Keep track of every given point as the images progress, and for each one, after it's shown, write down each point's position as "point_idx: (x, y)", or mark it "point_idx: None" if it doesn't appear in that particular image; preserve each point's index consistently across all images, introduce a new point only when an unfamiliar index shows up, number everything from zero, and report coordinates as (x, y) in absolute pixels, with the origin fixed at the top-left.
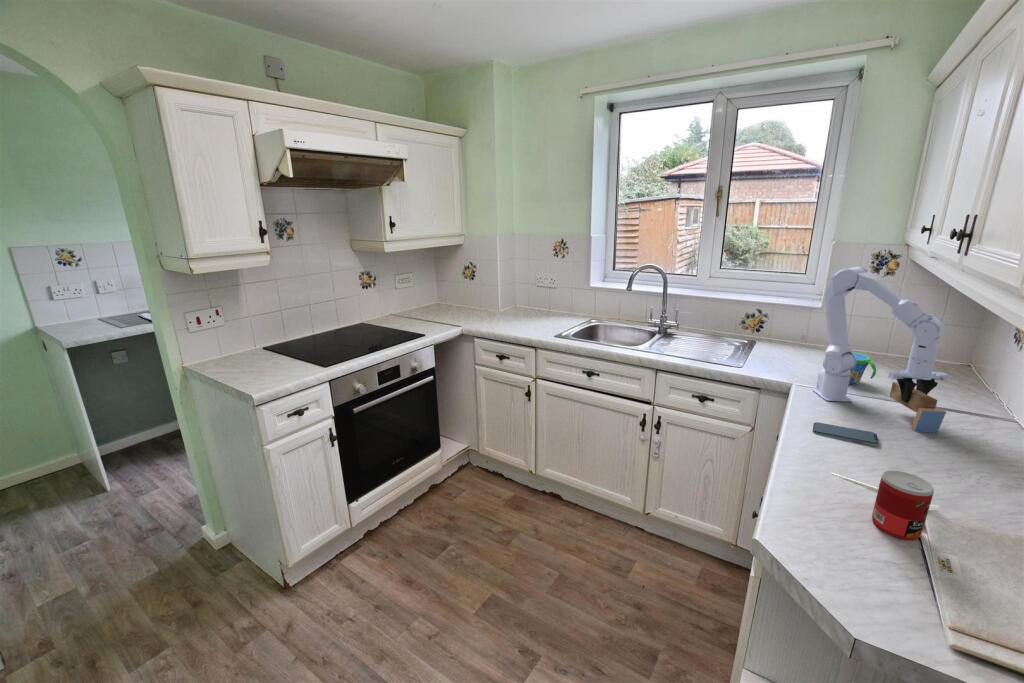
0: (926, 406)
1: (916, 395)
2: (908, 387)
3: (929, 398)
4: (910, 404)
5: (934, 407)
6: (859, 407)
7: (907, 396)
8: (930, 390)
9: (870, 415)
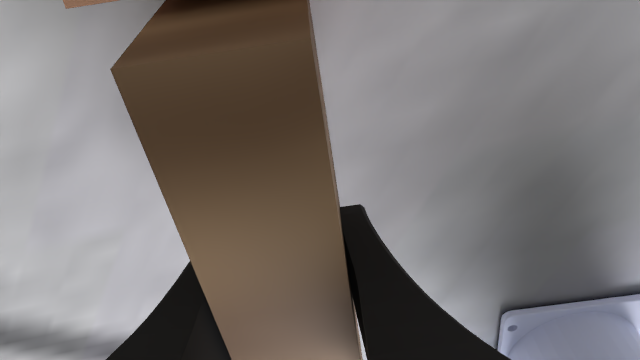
0: (275, 3)
1: (337, 220)
2: (458, 332)
3: (217, 122)
4: (334, 174)
5: (163, 18)
6: (504, 252)
7: (381, 245)
8: (124, 346)
9: (519, 146)
